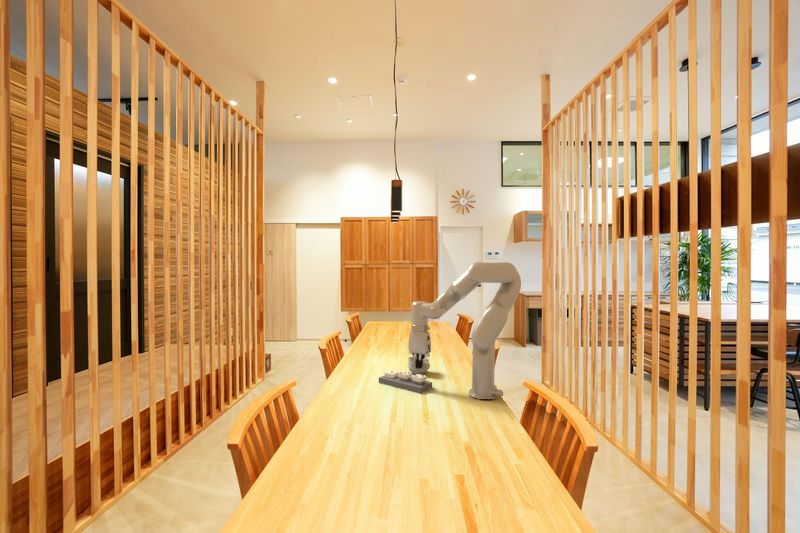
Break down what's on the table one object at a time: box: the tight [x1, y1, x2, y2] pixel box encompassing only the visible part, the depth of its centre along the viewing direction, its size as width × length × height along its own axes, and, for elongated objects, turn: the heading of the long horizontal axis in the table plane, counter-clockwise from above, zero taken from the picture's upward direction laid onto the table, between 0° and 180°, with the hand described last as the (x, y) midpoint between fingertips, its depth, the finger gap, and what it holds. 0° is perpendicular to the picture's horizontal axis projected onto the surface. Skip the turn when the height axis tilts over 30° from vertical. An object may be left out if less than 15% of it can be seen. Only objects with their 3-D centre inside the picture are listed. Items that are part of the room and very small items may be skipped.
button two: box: [412, 374, 428, 385], centre depth 170 cm, size 5×5×4 cm
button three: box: [398, 370, 413, 382], centre depth 175 cm, size 5×5×4 cm
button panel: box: [378, 374, 433, 395], centre depth 175 cm, size 24×10×2 cm, turn 54°
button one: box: [384, 370, 400, 379], centre depth 179 cm, size 5×5×4 cm
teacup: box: [407, 355, 431, 375], centre depth 192 cm, size 14×11×8 cm
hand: (419, 367), depth 170 cm, fingers closed
